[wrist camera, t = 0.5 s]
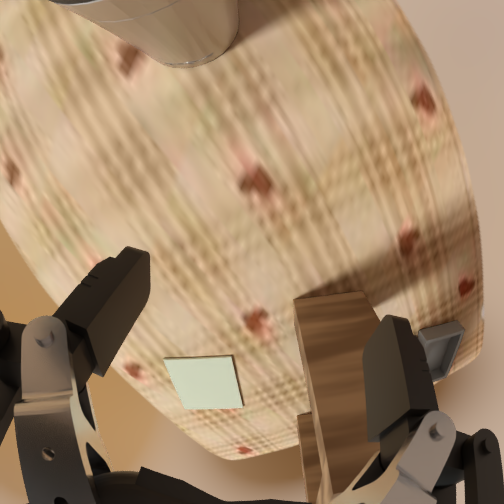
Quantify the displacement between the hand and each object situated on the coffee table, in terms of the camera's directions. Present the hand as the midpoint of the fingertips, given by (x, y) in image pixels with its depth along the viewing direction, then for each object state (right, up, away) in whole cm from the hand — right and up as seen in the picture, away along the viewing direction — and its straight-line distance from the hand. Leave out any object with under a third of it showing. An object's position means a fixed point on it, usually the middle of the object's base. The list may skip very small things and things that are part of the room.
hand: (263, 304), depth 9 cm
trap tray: (+26, -13, +27) cm, 40 cm away
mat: (-7, -17, +29) cm, 34 cm away
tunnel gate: (+10, -15, +28) cm, 33 cm away
